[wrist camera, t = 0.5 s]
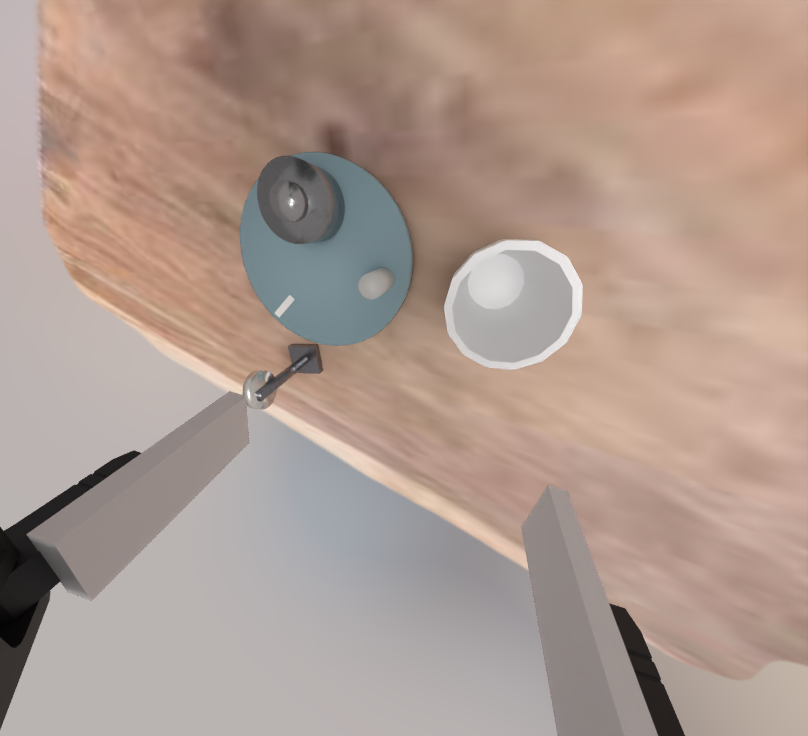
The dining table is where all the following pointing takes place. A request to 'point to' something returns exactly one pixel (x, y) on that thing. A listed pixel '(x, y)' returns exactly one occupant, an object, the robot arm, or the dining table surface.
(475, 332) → the foam cup
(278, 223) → the cover
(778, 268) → the dining table surface
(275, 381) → the dial stand
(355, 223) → the turntable
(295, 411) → the dining table surface
